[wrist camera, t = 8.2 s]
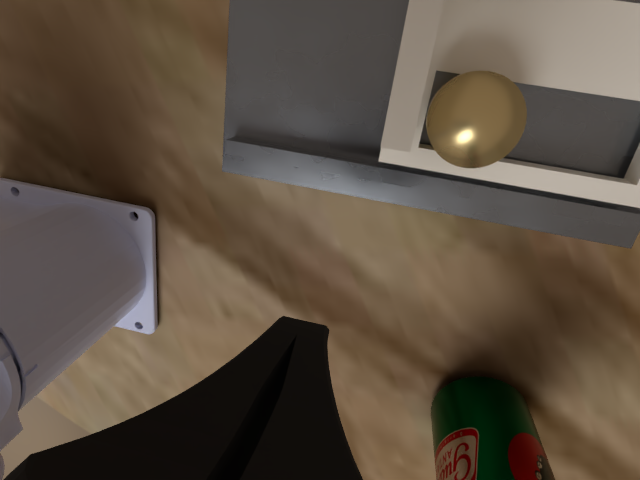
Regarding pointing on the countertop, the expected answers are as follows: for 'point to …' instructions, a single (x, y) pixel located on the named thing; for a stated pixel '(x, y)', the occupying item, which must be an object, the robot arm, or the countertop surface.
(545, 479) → the soda can
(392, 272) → the countertop surface
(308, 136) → the boss plate
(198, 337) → the countertop surface
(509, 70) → the panel
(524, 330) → the countertop surface
